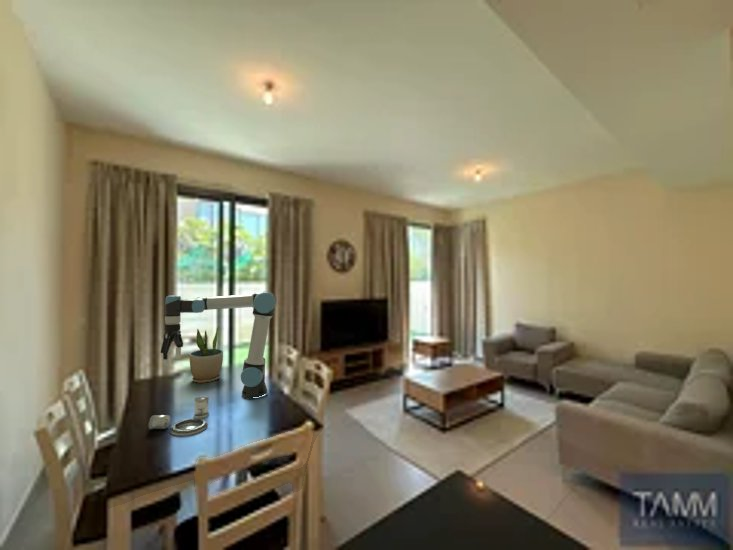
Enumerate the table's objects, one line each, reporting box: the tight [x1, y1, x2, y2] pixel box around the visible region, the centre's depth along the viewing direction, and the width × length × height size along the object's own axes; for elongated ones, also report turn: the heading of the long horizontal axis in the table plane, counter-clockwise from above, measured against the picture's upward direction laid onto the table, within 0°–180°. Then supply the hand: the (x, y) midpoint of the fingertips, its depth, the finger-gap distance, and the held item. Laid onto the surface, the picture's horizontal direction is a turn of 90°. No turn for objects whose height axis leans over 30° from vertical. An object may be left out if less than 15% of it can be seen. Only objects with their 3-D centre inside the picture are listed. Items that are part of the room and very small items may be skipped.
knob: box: [193, 395, 210, 419], centre depth 181 cm, size 7×7×9 cm
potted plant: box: [188, 322, 224, 384], centre depth 240 cm, size 21×22×40 cm
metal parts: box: [148, 414, 209, 437], centre depth 165 cm, size 25×16×6 cm, turn 95°
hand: (172, 362), depth 192 cm, fingers open, 13 cm apart
